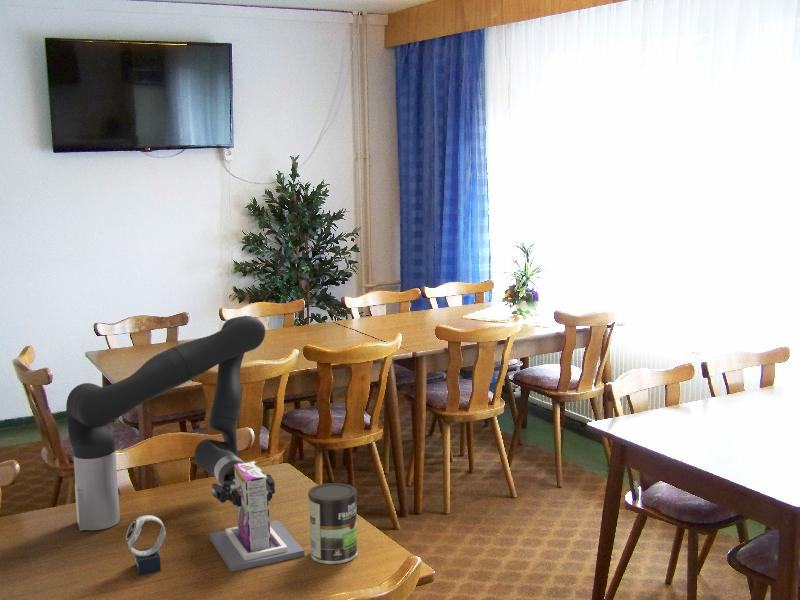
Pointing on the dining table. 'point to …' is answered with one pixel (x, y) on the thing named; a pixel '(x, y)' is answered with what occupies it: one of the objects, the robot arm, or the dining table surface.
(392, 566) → the dining table surface
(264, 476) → the candy bar box
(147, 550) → the watch
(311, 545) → the coffee can
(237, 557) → the collar plate
